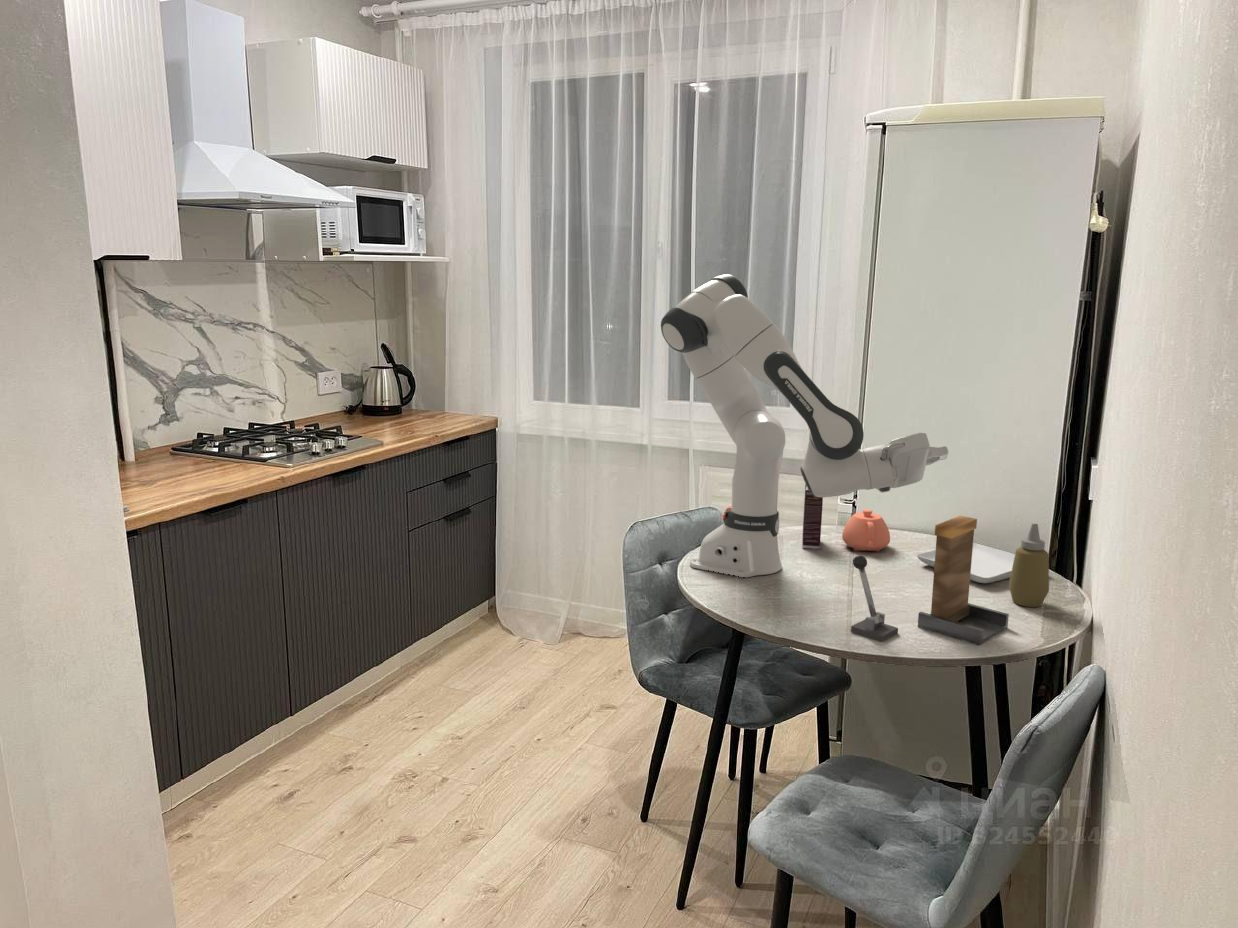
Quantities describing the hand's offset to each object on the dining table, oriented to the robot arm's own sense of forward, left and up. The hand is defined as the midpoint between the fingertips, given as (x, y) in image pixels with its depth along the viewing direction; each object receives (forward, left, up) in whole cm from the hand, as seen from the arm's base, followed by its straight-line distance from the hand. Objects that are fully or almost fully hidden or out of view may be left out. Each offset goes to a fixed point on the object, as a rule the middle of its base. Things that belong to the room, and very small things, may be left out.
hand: (947, 452), depth 185 cm
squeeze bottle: (+18, +10, -35) cm, 40 cm away
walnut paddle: (+3, -9, -33) cm, 34 cm away
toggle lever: (-11, -20, -32) cm, 39 cm away
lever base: (-11, -20, -34) cm, 41 cm away
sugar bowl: (-20, +38, -35) cm, 55 cm away
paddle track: (+6, -10, -34) cm, 36 cm away
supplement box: (-34, +36, -35) cm, 60 cm away
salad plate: (+8, +30, -35) cm, 47 cm away
